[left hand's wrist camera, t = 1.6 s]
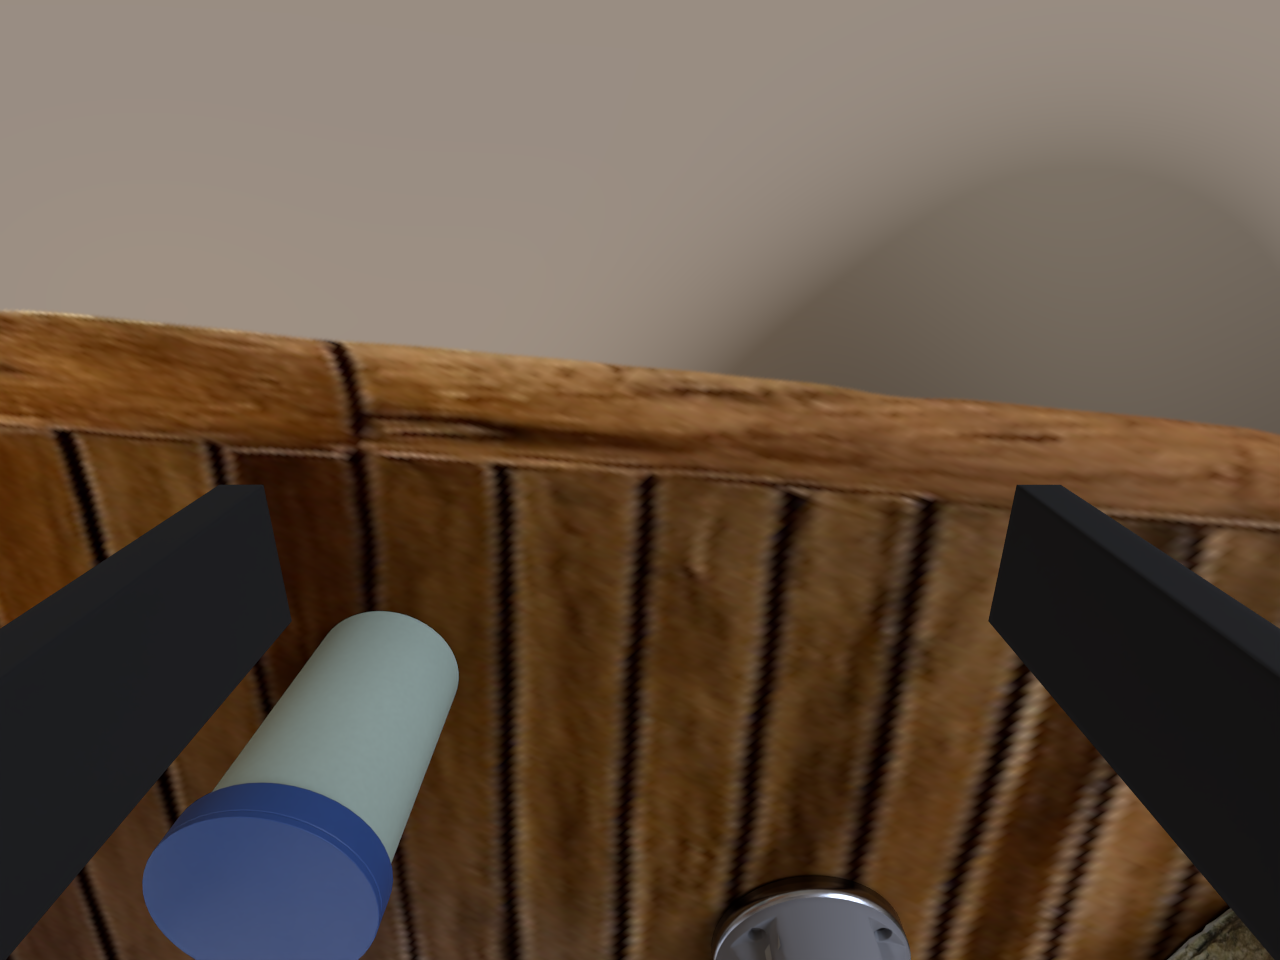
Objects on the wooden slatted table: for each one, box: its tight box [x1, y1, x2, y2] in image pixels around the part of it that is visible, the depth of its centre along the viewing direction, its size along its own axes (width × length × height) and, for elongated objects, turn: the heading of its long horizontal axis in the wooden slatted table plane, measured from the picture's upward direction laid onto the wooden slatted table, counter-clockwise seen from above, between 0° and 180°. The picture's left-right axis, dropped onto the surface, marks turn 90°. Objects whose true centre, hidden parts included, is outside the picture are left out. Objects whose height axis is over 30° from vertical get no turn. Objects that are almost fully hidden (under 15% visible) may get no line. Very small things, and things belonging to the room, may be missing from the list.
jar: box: [212, 611, 459, 862], centre depth 39 cm, size 9×9×16 cm
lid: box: [142, 783, 393, 960], centre depth 32 cm, size 10×10×2 cm
